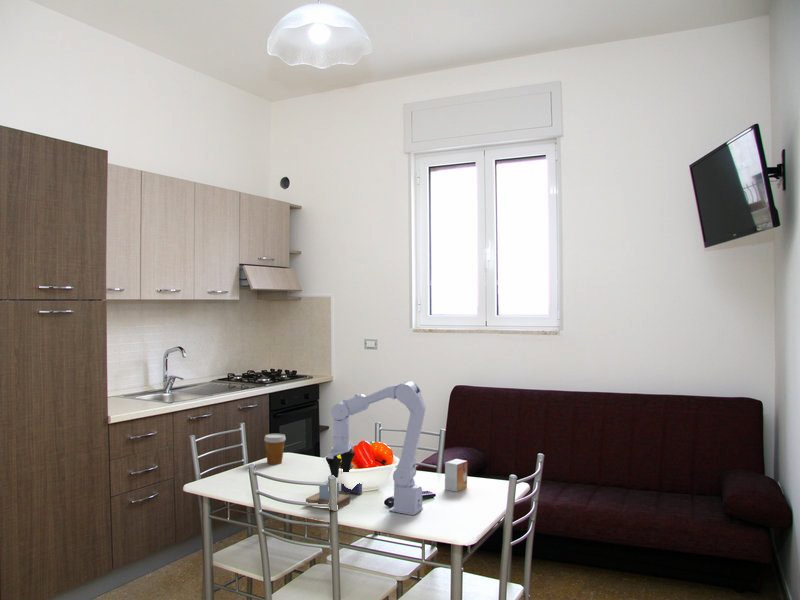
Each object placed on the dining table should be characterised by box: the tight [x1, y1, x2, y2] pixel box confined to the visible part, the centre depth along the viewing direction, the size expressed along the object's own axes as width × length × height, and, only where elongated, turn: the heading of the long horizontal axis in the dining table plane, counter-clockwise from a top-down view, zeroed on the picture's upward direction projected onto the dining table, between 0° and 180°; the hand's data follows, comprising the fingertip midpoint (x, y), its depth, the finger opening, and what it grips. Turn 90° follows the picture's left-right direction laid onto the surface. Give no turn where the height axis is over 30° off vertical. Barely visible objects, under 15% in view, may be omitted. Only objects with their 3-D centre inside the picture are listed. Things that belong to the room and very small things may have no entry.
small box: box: [444, 458, 468, 492], centre depth 239 cm, size 8×6×10 cm
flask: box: [340, 463, 363, 496], centre depth 232 cm, size 9×3×11 cm, turn 59°
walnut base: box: [305, 492, 351, 511], centre depth 217 cm, size 12×10×2 cm
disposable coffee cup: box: [263, 433, 287, 466], centre depth 272 cm, size 10×10×12 cm
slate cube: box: [318, 480, 340, 500], centre depth 217 cm, size 5×5×5 cm
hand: (340, 474), depth 219 cm, fingers open, 7 cm apart
